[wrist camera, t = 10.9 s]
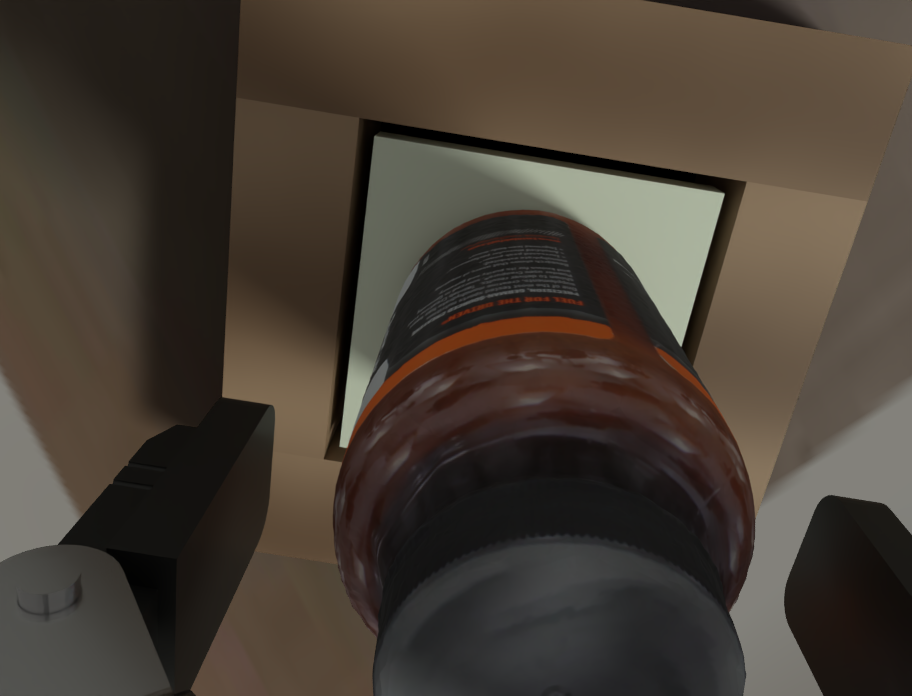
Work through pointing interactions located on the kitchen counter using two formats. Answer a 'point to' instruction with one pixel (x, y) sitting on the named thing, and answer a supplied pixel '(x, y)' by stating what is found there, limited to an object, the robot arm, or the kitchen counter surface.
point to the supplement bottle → (541, 481)
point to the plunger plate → (516, 188)
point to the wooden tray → (551, 127)
